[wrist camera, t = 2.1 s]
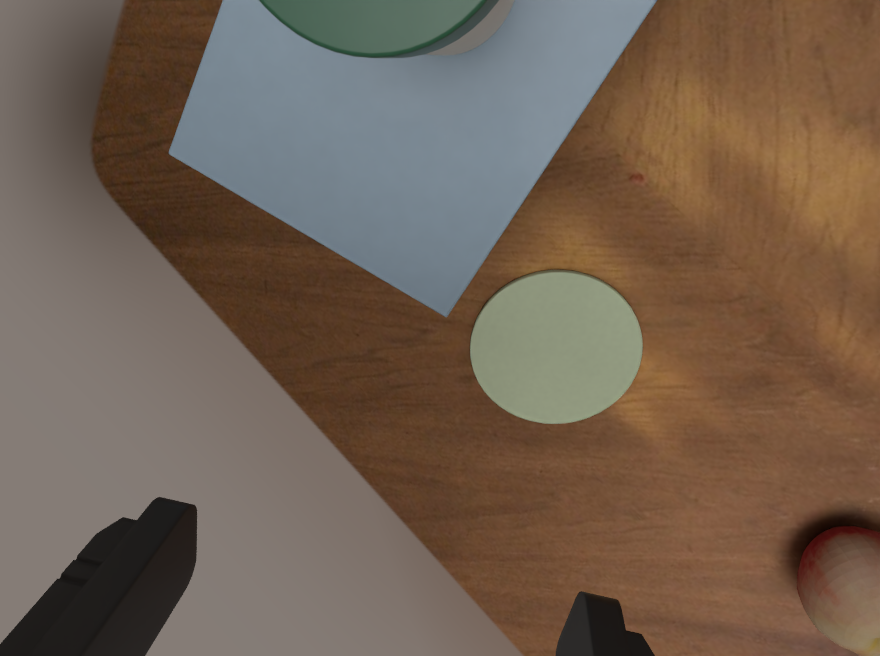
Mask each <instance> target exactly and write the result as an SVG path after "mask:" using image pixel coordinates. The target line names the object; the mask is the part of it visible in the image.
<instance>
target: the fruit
mask: <svg viewBox="0 0 880 656" xmlns="http://www.w3.org/2000/svg"><path fill="white" fill-rule="evenodd" d="M797 590H798V594H799V597H800V600H801V602H802V605H803V607H804V609H805V611H806V613H807V615H808V616H809V618H810V619H811V621H812V622H813V624H814V625H815V626H816V628H817V629H818V630H819V631H820V632H821V633H823V634H824V635H825V636H826V637H828V638H829V639H830V640H832V641H833V642H835V643H836V644H838V645H840V646H842V647H844V648H846V649H849V650H851V651H853V652H855V653H857V654H858V655H860V656H880V533H879V532H876V531H873V530H870V529H865V528H861V527H856V526H840V527H833V528H831V529H829V530H826V531H824V532H823V533H821V534H819V535H818V536H817V537H815V538H814V539H813V540H812V541H811V542H810V544H809V545H808V546H807V547H806V549H805V550H804V552H803V554H802V557H801V561H800V565H799V569H798V575H797Z"/></svg>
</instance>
